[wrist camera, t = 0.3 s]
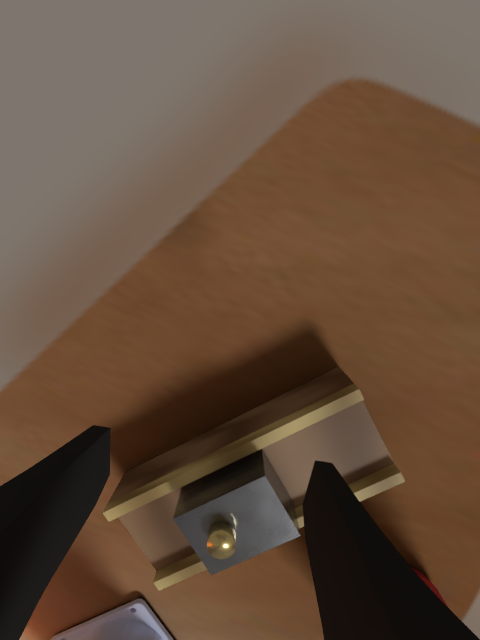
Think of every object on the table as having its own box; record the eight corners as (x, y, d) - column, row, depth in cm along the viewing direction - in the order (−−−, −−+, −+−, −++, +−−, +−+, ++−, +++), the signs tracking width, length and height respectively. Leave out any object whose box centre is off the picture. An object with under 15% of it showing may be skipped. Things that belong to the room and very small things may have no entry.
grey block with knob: (215, 537, 20) (209, 589, 17) (181, 486, 20) (169, 531, 16) (293, 501, 20) (303, 548, 17) (262, 448, 19) (266, 486, 16)
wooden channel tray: (172, 539, 24) (159, 590, 20) (125, 472, 23) (102, 513, 19) (378, 444, 22) (405, 481, 19) (338, 366, 21) (359, 388, 17)
